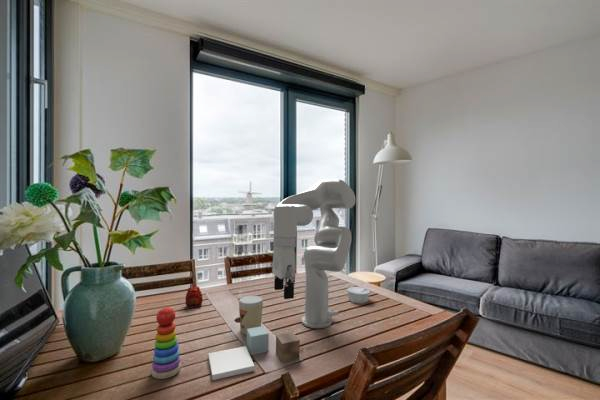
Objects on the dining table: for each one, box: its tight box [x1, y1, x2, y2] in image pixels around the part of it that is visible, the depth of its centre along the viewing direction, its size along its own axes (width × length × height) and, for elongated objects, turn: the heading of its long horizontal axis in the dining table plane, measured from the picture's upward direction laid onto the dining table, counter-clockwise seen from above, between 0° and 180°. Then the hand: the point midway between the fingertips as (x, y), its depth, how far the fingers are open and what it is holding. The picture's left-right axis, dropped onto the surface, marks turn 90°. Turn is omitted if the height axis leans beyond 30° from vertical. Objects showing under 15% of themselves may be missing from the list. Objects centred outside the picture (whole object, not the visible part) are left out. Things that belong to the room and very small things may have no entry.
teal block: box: [246, 325, 269, 355], centre depth 97 cm, size 6×6×6 cm
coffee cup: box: [238, 294, 264, 336], centre depth 111 cm, size 9×9×12 cm
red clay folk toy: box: [185, 274, 204, 309], centre depth 135 cm, size 8×7×15 cm
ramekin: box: [346, 286, 371, 304], centre depth 145 cm, size 11×11×5 cm
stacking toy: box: [151, 307, 182, 380], centre depth 84 cm, size 8×8×19 cm
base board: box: [208, 345, 255, 381], centre depth 88 cm, size 12×12×2 cm
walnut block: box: [275, 331, 301, 363], centre depth 93 cm, size 6×6×6 cm
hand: (283, 293), depth 95 cm, fingers open, 9 cm apart
